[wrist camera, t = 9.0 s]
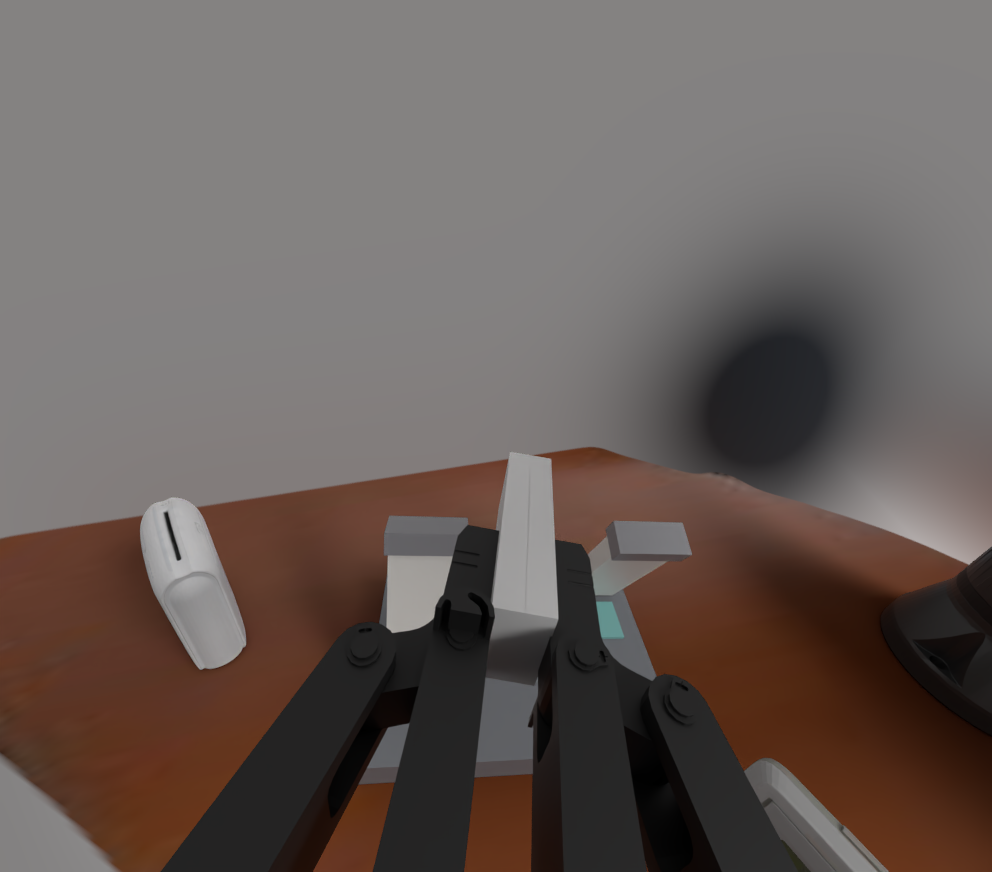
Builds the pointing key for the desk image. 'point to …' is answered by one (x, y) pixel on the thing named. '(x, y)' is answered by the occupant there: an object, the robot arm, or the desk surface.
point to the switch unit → (517, 703)
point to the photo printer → (191, 582)
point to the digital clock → (807, 824)
